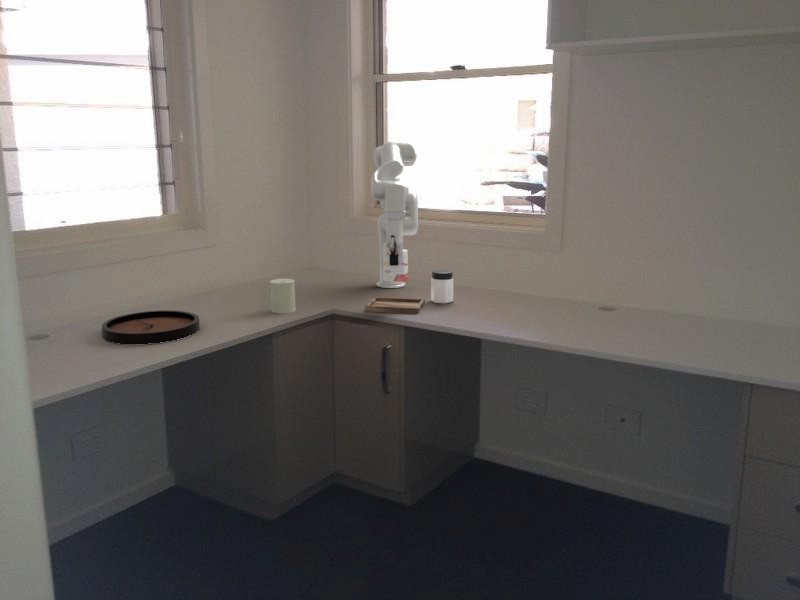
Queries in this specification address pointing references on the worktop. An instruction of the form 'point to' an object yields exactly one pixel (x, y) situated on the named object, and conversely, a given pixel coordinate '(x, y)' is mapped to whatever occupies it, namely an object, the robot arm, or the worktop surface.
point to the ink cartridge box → (393, 271)
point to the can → (282, 296)
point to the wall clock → (150, 327)
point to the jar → (442, 286)
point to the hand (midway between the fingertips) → (395, 263)
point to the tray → (395, 305)
